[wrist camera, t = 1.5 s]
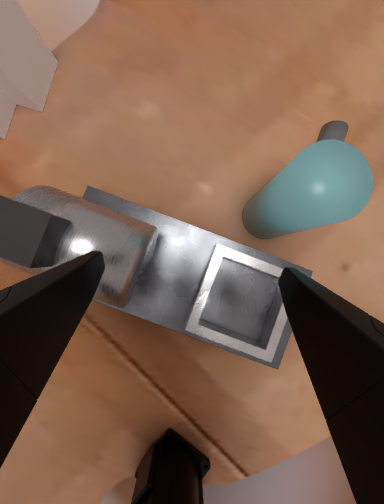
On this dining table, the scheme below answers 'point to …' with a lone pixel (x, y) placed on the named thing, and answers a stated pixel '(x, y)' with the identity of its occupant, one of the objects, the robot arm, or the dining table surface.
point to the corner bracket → (22, 64)
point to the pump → (312, 188)
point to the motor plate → (155, 267)
